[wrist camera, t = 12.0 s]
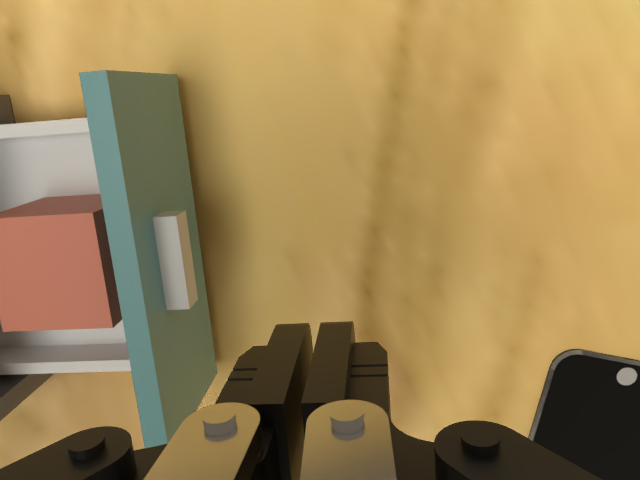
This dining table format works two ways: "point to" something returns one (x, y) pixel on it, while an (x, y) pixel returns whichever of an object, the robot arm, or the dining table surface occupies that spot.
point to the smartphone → (592, 413)
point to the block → (57, 266)
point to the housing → (13, 389)
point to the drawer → (123, 242)
